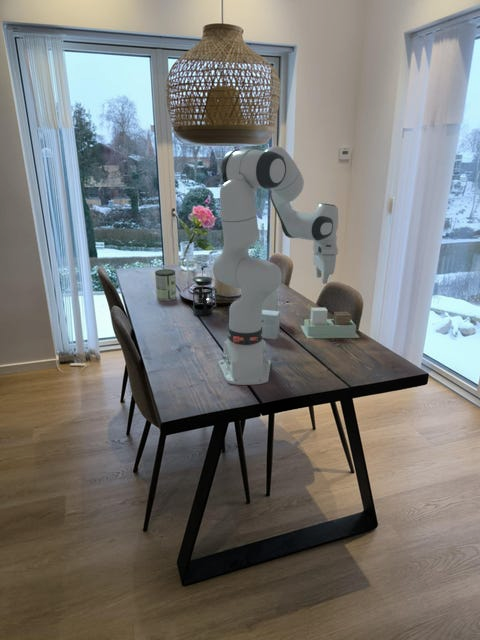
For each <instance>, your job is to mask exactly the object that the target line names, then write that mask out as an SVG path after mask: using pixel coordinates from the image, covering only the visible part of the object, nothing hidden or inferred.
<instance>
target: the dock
mask: <svg viewBox="0 0 480 640" xmlns="http://www.w3.org/2000/svg"><path fill="white" fill-rule="evenodd" d="M333 320H334V318H332V319H331V318H327V324H326V325H310V319H304V321H303V325H300V329H301V330H302V331H303V333H304V336H305V337H306V339H343V338H345V339H348V338H349V339H352V338H353V339H354V338H356V339H357V338H358V339H359V338H360V337H361V336H359V334H358V333H357V325H356V323H355V322H354V321H353V320H352V319H351V320H350V325H334V324H333Z"/></svg>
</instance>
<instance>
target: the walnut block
mask: <svg viewBox="0 0 480 640" xmlns="http://www.w3.org/2000/svg"><path fill="white" fill-rule="evenodd" d="M333 319H334V320H333V324H334V325H350V320H352V314H351V312H349V311H334V312H333Z"/></svg>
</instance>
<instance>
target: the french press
mask: <svg viewBox="0 0 480 640" xmlns="http://www.w3.org/2000/svg"><path fill="white" fill-rule="evenodd" d="M207 267H208V266H207V265H204V264H203V265H198V266H197V268H198V269H199V268H200V269H201V276H196V277H193V278H192V281H193V282H195V284H196V285H197V286H196V287H194V288H192V295H193V297H192V299H193V302H192V303H193V312H192V313H193V316H195V317H200V318H205V317H211V316H212V315H213V314H214V310H213V309H214V308H217V302H218V301H217V294H218V293H217V288H216V287H215V288H214V287H210V285H212V281H213V277H210V276H204V269H205V268H207ZM204 290H206V291H204ZM213 291H214V305H213ZM195 295H198V298H195ZM208 295H211V296H210V297H211V298H208Z"/></svg>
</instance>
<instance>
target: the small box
mask: <svg viewBox="0 0 480 640" xmlns="http://www.w3.org/2000/svg"><path fill="white" fill-rule="evenodd" d="M280 318H281V311H279V310H277V311H270V310H262V319H261V327H262V331H263V334H262V339H269V340H277V339H278V337H279V335H280V322H281V321H280Z"/></svg>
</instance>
